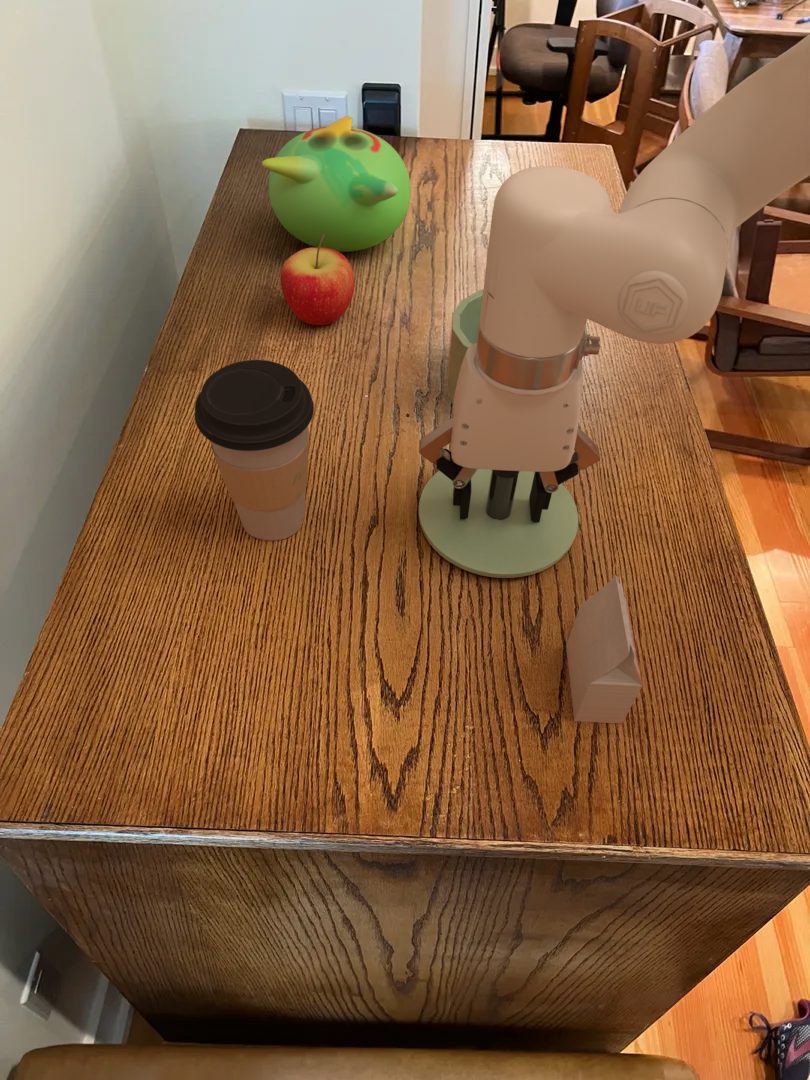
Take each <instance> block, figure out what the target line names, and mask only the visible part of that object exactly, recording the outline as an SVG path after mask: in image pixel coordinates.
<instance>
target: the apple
mask: <svg viewBox="0 0 810 1080" xmlns="http://www.w3.org/2000/svg"><path fill="white" fill-rule="evenodd" d="M324 236H325V233H324V232H323V234H322V236H321V239H320V243H319V246H318V247H314V246H311V247H307V248H302V249H301V250H298V251H297V252H295V253H293V254H292V255H290V257H288V258H287V259H286V260H285V261H284V262H283V265H282V267H281V271H280V286H281V291H282V294H283V298H284V300H285V302H286V303H287V305H288V307H289V309H290V311H292V313H293V314H294V315H295V316H296V317H297V318H298V319H299V320H300V321H302V322H304V323H306V324H309V325H315V326H325V325H329V324H332V323H334V322H335V321H337V320H338V319H340V318H341V317H342V316H343V315H344V314H345V312H347V310H348V308H349V306H350V305H351V303H352V300H353V297H354V291H355V276H354V271H353V268H352V266H351V263H350V262H349V260H348V259H347V258H346V256H345V255H344V254H343V253H342V252H338V251H336V250H334V249H330V248H323V247H320V246H321V243H322V240H323V238H324Z"/></svg>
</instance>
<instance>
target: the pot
mask: <svg viewBox="0 0 810 1080" xmlns="http://www.w3.org/2000/svg"><path fill="white" fill-rule="evenodd" d="M482 298H483V289H480V290H478V291H476V292H474V293H472V294H470V295H468V296H466V297H464V298H463V299H461V300H460V302H459V304H458V305H457V306H456V307H455V308H454V310H453V312H452V313H451V322H450V323H451V324H450V325H451V326H450V336H449V349H448V359H447V370H446V371H447V373H446V392H447V396H448V399H449V400H450V402H451V404H452V405H453V402H454V395H455V390H456V385H457V380H458V376H459V372H460V369H461V365H462V362H463V359H464V356H465V354H466V351H467V349H468V348H469V347H470V346H471V345H473V344H475V343H477V340H478V332H479V323H480V315H481V306H482ZM587 327H588V326H587V324H586V325H585V329H584V330H585V334H589V331H588V328H587Z"/></svg>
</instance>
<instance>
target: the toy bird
mask: <svg viewBox="0 0 810 1080" xmlns="http://www.w3.org/2000/svg"><path fill="white" fill-rule="evenodd" d="M352 126H353V117H352V116H350V115H345V116H343V117H340V118H339V119H337V120H335V121H334V122H332V123H330V124H329V125H327V126H322V127H316V128H313V129H308V130H307V131H304V132H302V133H300V134H297V135H296V136H294V137H293V138H292V139H290V140H289V141H288V142H286V143H285V144H284V146H283V147H282V148H281V149H280V150H279V151H278V153H277V155H276V156H275V157H269V158H265V159H264V160H262V161H261V165H262V167H263V168H264V169H266V170H268V171H269V176H268V196H269V201H270V205H271V208H272V210H273V212H274V214H275V217H276V218H277V220H278V221H279V223H280V224H281V225H282V227H283V228H284V229H285V230H286V231H287V232H288V233H289V234H290V235H292V236H293V237H294V238H295V239H297V240H299V241H301V242H303V243H305V244H306V245H308V246H311V247H318V246H319V243H320V239H321V236H322V234H323V232H324V233H325V236H324V238H323V240H322V243H321V246H320V247H323V248H330V249H334V250H336V251H338V252H340V253H346V252H347V253H348V252H357V251H363V250H366V249H370V248H372V247H375V246H378V245H380V244H381V243H383V242H385V241H386V240H387V239H388V238H390V237H391V236H392V235H393V234H394V233H395V232H396V231H397V230H398V229H399V227H400V226H401V225H402V224H403V221H404V220H405V218H406V215H407V213H408V210H409V208H410V202H411V192H412V189H411V180H410V179H411V178H410V175H409V172H408V168H407V166H406V164H405V162H404V160H403V159H402V157H401V155H400V154H399V153H398V151H396V149H395V148H394V147H393V146H392V145H391V144H389V142H387V141H386V140H385V139H384V138H381V137H379V136H378V135H376V134H374V133H372V132H370V131H367V130H364V129H360V128H357V127H352Z"/></svg>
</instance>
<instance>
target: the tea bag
mask: <svg viewBox="0 0 810 1080" xmlns="http://www.w3.org/2000/svg"><path fill="white" fill-rule="evenodd" d="M635 641H636V640H635V636H634V630H633V626H632V619H631V613H630V609H629V605H628V603H627V600H626V597H625V593H624V588H623V582H622V576H621V574H620V575H619V579H618V577H617V575H616V574H614V575H613V576H612V578H610V580H609V581H607V583H606V584H604V586H602V587H601V588H600V589H599V590H598V591H596V592H595V593H593V595H591V596H590V597H589V598H587V599H586V600H585V601H583V602H582V603H581V604H580V605H579V607H578V611H577V613H576V616H575V619H574V622H573V624H572V626H571V630H570V633H569V636H568V639H567V641H566V645H565V651H566V659H567V668H568V678H569V687H570V696H571V704H572V714H573V722H579V723H600V724H601V723H603V724H624V721H625V719H626V717H627V716H628V714H629V712H630V710H631V709H632V706H633V705H634V702H635V701H636V699H637V697H638V695H639V694H640V692H641V690H642V688H643V682H642V681H643V680H642V675H641V670H640V663H639V659H638V658H639V657H638V653H637V647H636V642H635Z"/></svg>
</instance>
